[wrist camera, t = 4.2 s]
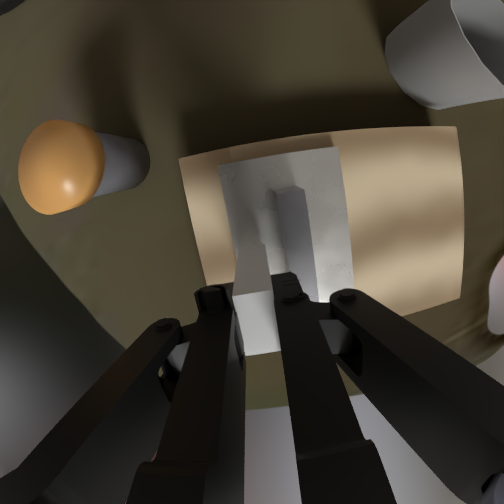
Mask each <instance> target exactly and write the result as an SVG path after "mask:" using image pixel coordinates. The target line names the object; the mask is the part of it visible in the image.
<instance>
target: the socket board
mask: <svg viewBox="0 0 504 504" xmlns="http://www.w3.org/2000/svg"><path fill="white" fill-rule="evenodd" d="M337 146H338V150H339V156H340V162H341V168H342V175H343V182H344V189H345V196H346V204H347V212H348V221H349V231H350V241H351V253H352V265H353V281H354V289H358V290H360V291H362V292H364V293H366V294H367V295H369V296H370V297H372V298H373V299H375V300H376V301H378V302H380V303H381V304H383V305H384V306H386V307H387V308H389V309H390V310H392V311H394V312H395V313H397V314H398V315H400V316H404V315H407V314H411V313H414V312H418V311H421V310H424V309H427V308H431V307H434V306H437V305H440V304H443V303H446V302H449V301H452V300H455V299H458V298H460V291H461V281H462V269H463V253H464V197H463V180H462V168H461V159H460V150H459V143H458V136H457V129H456V127H449V126H415V127H386V128H369V129H356V130H344V131H334V132H325V133H316V134H308V135H300V136H293V137H286V138H279V139H273V140H267V141H261V142H255V143H249V144H244V145H239V146H233V147H228V148H223V149H219V150H214V151H209V152H205V153H200V154H196V155H192V156H188V157H183V158H179V164H180V169H181V174H182V179H183V184H184V189H185V193H186V198H187V203H188V207H189V212H190V216H191V221H192V225H193V229H194V234H195V238H196V242H197V246H198V250H199V255H200V259H201V263H202V267H203V271H204V275H205V279H206V283H207V286H209V285H213V284H224V283H230V282H234V278H235V271H236V264H237V259H236V254H235V249H234V245H233V240H232V235H231V230H230V225H229V220H228V216H227V211H226V206H225V201H224V196H223V191H222V186H221V181H220V176H219V171H218V166H219V165H223V164H228V163H233V162H239V161H244V160H249V159H255V158H260V157H266V156H272V155H278V154H285V153H291V152H298V151H305V150H312V149H320V148H328V147H337Z"/></svg>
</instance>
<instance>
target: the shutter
mask: <svg viewBox="0 0 504 504" xmlns="http://www.w3.org/2000/svg"><path fill="white" fill-rule="evenodd" d="M218 171H219V176H220V181H221V186H222V191H223V196H224V201H225V206H226V211H227V216H228V220H229V225H230V230H231V235H232V240H233V245H234V249H235V254H236V259H237V257H238V250H239V248H241V247H247V246H253V245H259V244H265V248H266V254H267V259H268V265H269V271H270V275H273V274H279V273H285V272H292V273H294V274H296V275H297V277H298V280H299V282H300V285H301V287H302V290H303V292H304V293H306V294H307V295H308V296H309V298H310V301H314V302H329V298H330V295H331V294H332V293H334V292H336V291H338V290H342V289H345V288H347V289H348V288H352V289H354V281H353V265H352V253H351V241H350V231H349V221H348V212H347V204H346V196H345V189H344V182H343V175H342V168H341V162H340V156H339V150H338V146H337V147H328V148H320V149H312V150H305V151H298V152H291V153H285V154H278V155H272V156H266V157H260V158H255V159H249V160H244V161H239V162H233V163H228V164H223V165H219V166H218Z"/></svg>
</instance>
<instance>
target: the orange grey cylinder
mask: <svg viewBox="0 0 504 504" xmlns="http://www.w3.org/2000/svg"><path fill="white" fill-rule="evenodd" d="M149 168H150V156H149V153H148V150H147V148H146V147H145V146H144V145H143V144H142V143H141V142H140V141H138V140H136V139H132V138H127V137H121V136H116V135H111V134H105V133H99V132H94V131H93V130H92V129H91V128H90V127H88V126H86V125H83V124H79V123H74V122H68V121H62V120H50V121H47V122H44V123H42V124H41V125H39V126H38V127H37V128H36V129H34V131H33V132H32V133H31V134H30V135H29V137H28V138H27V140H26V142H25V144H24V146H23V148H22V151H21V155H20V159H19V167H18V176H19V183H20V188H21V191H22V193H23V196H24V198H25V199H26V201H27V202H28V204H29V205H30V206H31V207H32V208H33V209H35V210H36V211H38V212H40V213H43V214H48V215H50V214H56V213H59V212H63V211H66V210H69V209H72V208H76V207H79V206H81V205H83V204H85V203H86V202H88V201H89V200H90V199H91V198H92V197H96V196H100V195H104V194H109V193H113V192H117V191H122V190H126V189H131V188H134V187H136V186H138V185H139V184H140V183H141V182H142V181H143V180H144V179H145V178H146V176H147V174H148V171H149Z"/></svg>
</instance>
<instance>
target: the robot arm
mask: <svg viewBox="0 0 504 504" xmlns="http://www.w3.org/2000/svg"><path fill="white" fill-rule="evenodd" d="M23 1H24V0H0V15H2V14H4V13H6V12H8V11H10V10H12V9H13V8H15V7H16V6H18V5H19V4H20V3H22V2H23ZM194 296H195V300H196V303H197V307H198V311H199V316H198V319H197V322H195V323H192V324H190V325H186V326H183V327H181V325H180V322H179V320H177V319H174V318H164V319H160V320H158V321H157V322H155V323H153V324H151V325H150V326H149V327H148V328H147V329H146V330H145V331H144V332H143V333H142V334H141V335H140V336H139V337H138V338H137V339H136V340H135V341H134V342H133V344H132V345H131V346H130V347H129V348H128V349H127V350H126V351H125V352H124V353H123V354H122V355H121V356H120V357H119V358H118V359H117V360H116V361H115V362H114V363H113V364H112V366H111V367H110V368H109V369H108V370H107V371H106V372H105V373H104V374H103V375H102V376H101V377H100V378H99V379H98V380H97V381H96V382H95V383H94V384H93V385H92V387H91V388H90V389H89V390H88V391H87V392H86V393H85V394H84V395H83V396H82V397H81V398H80V399H79V400H78V402H77V403H76V404H75V405H74V406H73V407H72V408H71V409H70V410H69V411H68V412H67V413H66V415H65V416H64V417H63V418H62V419H61V420H60V421H59V422H58V423H57V424H56V425H55V426H54V428H53V429H52V430H51V431H50V432H49V433H48V434H47V435H46V436H45V437H44V439H43V440H42V441H41V442H40V443H39V444H38V445H37V446H36V448H35V449H34V450H33V451H32V452H31V453H30V454H29V455H28V457H27V458H26V459H25V460H24V461H23V462H22V463H21V464H20V466H19V467H18V468H16V469H15V470H13V471H11V472H10V473H8V474H7V475H5V476H3V477H2V478H0V504H125V502H126V501H127V502H126V504H244V456H245V451H244V450H245V389H246V361H245V357H244V351H245V355H246V356H248V355H256V354H262V353H269V352H275V351H281V354H282V361H283V367H284V374H285V381H286V388H287V395H288V402H289V408H290V416H291V423H292V430H293V437H294V445H295V452H296V461H297V469H298V476H299V485H300V492H301V500H302V504H397V503H396V500H395V497H394V494H393V492H392V489H391V486H390V483H389V480H388V478H387V475H386V472H385V469H384V467H383V464H382V461H381V458H380V456H379V453H378V451H377V448H376V447H375V444H374V443H373V441H372V440H370V439H369V440H366V439H365V438H364V436H363V434H362V431H361V429H360V426H359V423H358V420H357V418H356V415H355V412H354V410H353V407H352V404H351V401H350V399H349V396H348V393H347V391H346V388H345V386H344V383H343V380H342V378H341V375H340V373H339V370H338V367H337V365H336V363H337V364H338V365H339V366H340V367H341V369H342V370H343V371H344V372H345V373H346V374H347V375H348V377H349V378H350V379H351V380H352V381H353V382H354V383H355V385H356V386H357V387H358V388H359V389H360V390H361V391H362V392H363V394H364V395H365V396H366V397H367V398H368V399H369V400H370V402H371V403H372V404H373V405H374V406H375V407H376V408H377V409H378V411H379V412H380V413H381V414H382V415H383V416H384V417H385V418H386V420H387V421H388V422H389V423H390V424H391V425H392V426H393V427H394V429H395V430H396V431H397V432H398V433H399V434H400V435H401V436H402V437H403V439H404V440H405V441H406V442H407V443H408V444H409V446H410V447H411V448H412V449H413V450H414V451H415V452H416V453H417V454H418V456H419V457H420V458H421V459H422V460H423V461H424V462H425V463H426V464H427V466H428V467H429V468H430V469H431V470H432V471H433V472H434V473H435V474H436V476H437V477H438V478H439V479H440V480H441V481H442V482H443V483H444V484H445V486H446V487H447V488H449V490H450V491H452V492H453V493H454V494H455V495H456V496H457V497H458V498H459V499H461V500H462V501H464V502H465V503H467V504H504V386H503V385H501V384H500V383H499V382H497V381H496V380H494V379H493V378H492V377H490V376H489V375H487V374H486V373H484V372H483V371H482V370H480V369H479V368H477V367H476V366H474V365H473V364H471V363H470V362H469V361H467V360H466V359H464V358H463V357H461V356H460V355H458V354H457V353H455V352H454V351H452V350H451V349H449V348H448V347H446V346H445V345H443V344H442V343H440V342H439V341H437V340H436V339H435V338H433V337H432V336H430V335H429V334H427V333H425V332H424V331H422V330H421V329H419V328H418V327H416V326H415V325H413V324H412V323H410V322H409V321H407V320H406V319H404V318H403V317H401V316H400V315H398V314H397V313H395V312H394V311H392V310H390V309H389V308H387V307H386V306H384V305H383V304H381V303H380V302H378V301H376V300H375V299H373V298H372V297H370V296H369V295H367V294H366V293H364V292H362V291H360V290H358V289H352V288H348V289H347V288H345V289H342V290H338V291H336V292H334V293H332V294H331V295H330V298H329V302H314V301H310V298H309V296H308V295H307V294H306V293H304V292H303V290H302V287H301V285H300V282H299V280H298V277H297V275H296V274H294V273H292V272H285V273H279V274H273V275H270V271H269V265H268V259H267V254H266V248H265V244H259V245H253V246H247V247H241V248H239V250H238V257H237V264H236V271H235V278H234V282H230V283H224V284H213V285H209V286H205V287H203V288H200V289H199V290H197V291H196V292H195V293H194ZM160 367H161V369H162V371H163V375H162V376H161V377H159V375H158V371H159V369H160ZM157 449H158V451H157ZM156 451H157V455H156V457H155V459H154V460H153V461H152V462H150V461H151V459H152V458H153V456H154V454H155V452H156Z"/></svg>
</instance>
